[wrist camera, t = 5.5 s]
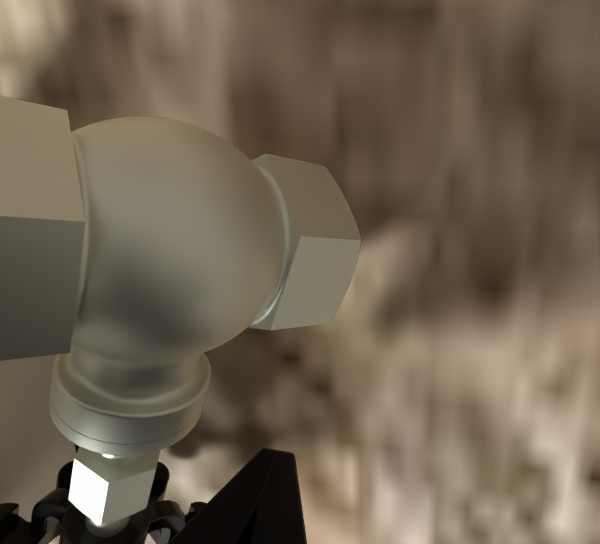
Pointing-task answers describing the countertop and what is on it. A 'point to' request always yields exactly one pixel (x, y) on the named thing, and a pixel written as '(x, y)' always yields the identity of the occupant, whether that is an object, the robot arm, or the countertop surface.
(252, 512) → the robot arm
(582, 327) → the countertop surface
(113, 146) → the valve
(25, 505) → the white t-shaped slider
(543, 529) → the countertop surface
